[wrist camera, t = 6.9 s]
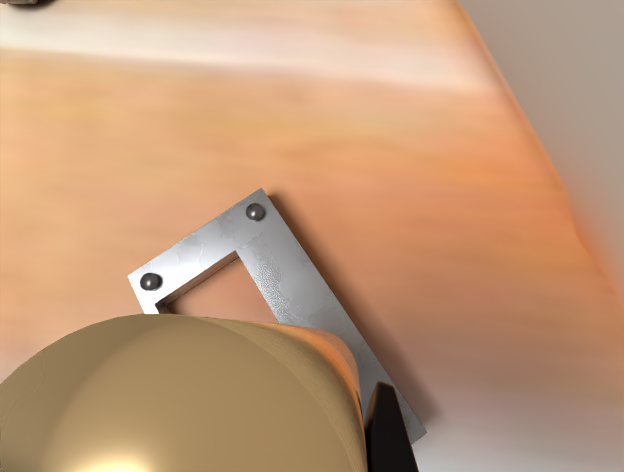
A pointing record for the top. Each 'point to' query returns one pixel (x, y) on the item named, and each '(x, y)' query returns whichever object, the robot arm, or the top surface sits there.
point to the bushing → (185, 400)
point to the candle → (18, 1)
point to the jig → (264, 283)
